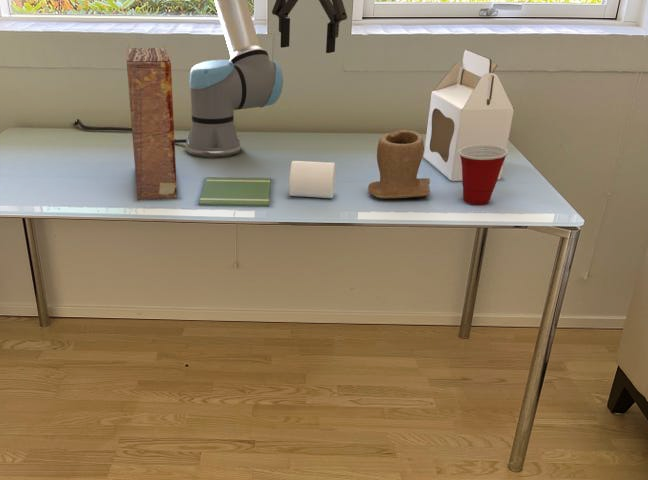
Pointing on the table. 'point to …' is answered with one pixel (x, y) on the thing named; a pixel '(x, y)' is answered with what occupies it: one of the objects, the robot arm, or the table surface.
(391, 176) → the stone cup
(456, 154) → the gable box
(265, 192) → the cloth
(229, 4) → the robot arm
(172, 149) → the book
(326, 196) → the mug
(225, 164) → the table surface
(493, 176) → the plastic cup
